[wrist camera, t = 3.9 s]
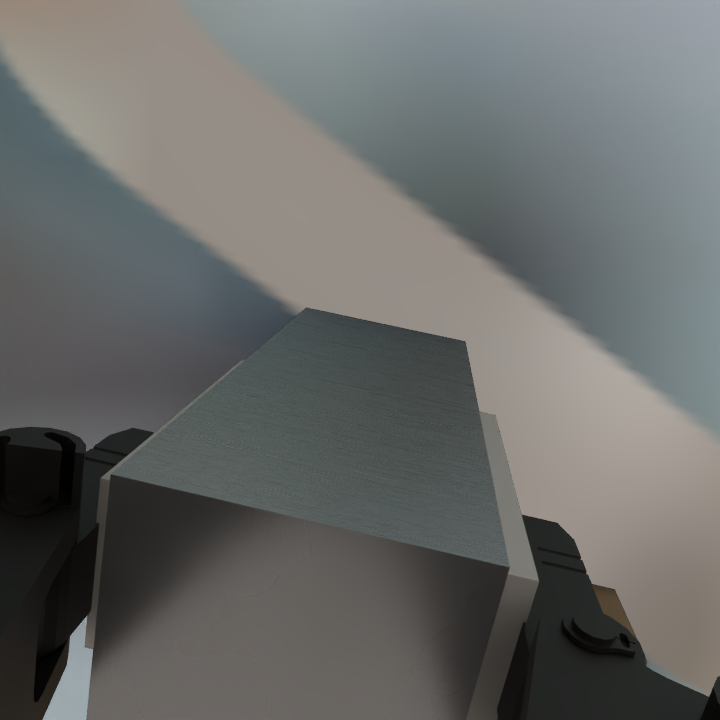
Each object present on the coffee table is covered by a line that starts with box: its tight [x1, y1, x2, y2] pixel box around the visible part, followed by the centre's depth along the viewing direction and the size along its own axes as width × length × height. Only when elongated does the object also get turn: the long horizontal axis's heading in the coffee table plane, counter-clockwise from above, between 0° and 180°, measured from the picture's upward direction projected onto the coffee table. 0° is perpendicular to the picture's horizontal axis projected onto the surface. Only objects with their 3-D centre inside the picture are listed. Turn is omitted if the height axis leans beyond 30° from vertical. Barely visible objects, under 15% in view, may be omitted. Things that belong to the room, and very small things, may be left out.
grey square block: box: [87, 308, 510, 720], centre depth 13 cm, size 4×4×11 cm
